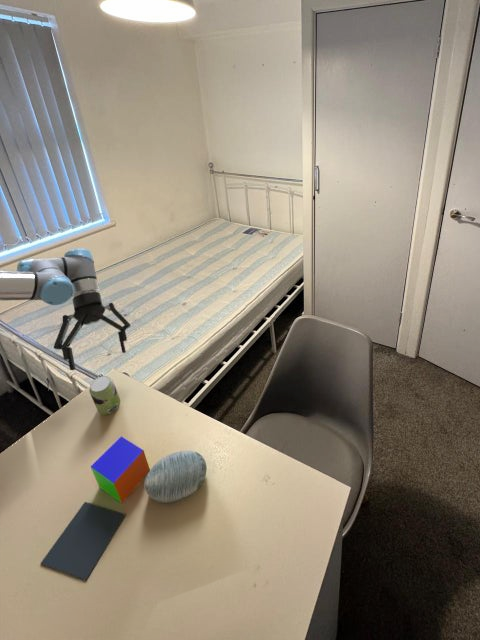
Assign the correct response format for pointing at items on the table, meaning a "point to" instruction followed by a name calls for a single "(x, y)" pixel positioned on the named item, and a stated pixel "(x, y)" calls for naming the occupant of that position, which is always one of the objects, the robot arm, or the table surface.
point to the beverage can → (104, 395)
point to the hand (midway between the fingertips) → (99, 360)
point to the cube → (121, 469)
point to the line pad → (84, 541)
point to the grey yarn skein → (175, 476)
